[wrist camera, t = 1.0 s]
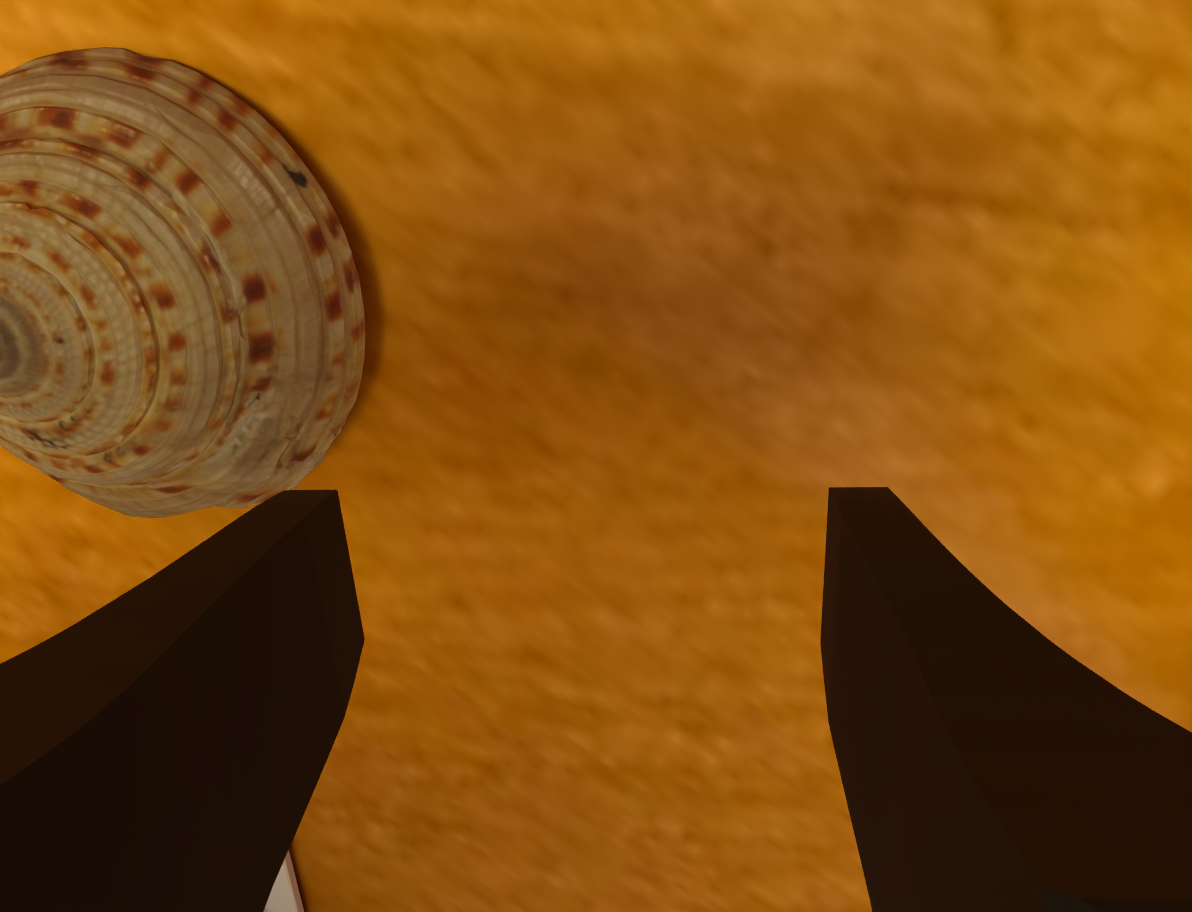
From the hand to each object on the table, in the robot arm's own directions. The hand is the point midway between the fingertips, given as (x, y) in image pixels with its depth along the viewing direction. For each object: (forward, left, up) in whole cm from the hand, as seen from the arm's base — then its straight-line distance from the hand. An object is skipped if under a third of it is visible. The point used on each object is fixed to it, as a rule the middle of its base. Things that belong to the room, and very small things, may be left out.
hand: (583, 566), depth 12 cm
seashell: (0, +9, -10) cm, 13 cm away
